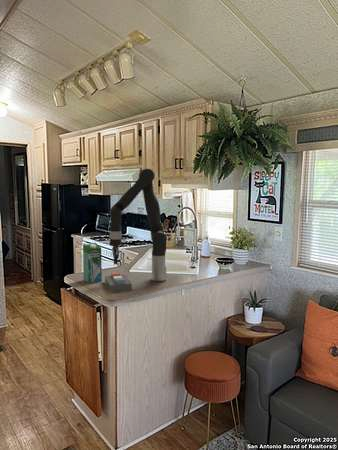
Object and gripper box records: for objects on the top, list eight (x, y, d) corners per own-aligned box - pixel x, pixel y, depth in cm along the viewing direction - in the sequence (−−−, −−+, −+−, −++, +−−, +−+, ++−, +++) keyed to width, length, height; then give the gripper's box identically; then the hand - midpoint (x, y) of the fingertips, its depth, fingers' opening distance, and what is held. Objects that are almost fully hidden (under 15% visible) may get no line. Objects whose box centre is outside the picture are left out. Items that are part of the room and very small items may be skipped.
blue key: (123, 282, 205) (123, 277, 205) (124, 284, 201) (124, 279, 200) (115, 282, 204) (115, 278, 203) (116, 285, 199) (116, 280, 199)
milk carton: (88, 283, 213) (88, 245, 210) (83, 280, 221) (82, 243, 218) (101, 281, 219) (101, 244, 216) (96, 278, 226) (95, 242, 223)
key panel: (124, 280, 222) (124, 274, 221) (131, 290, 201) (131, 283, 201) (105, 281, 217) (104, 276, 217) (110, 292, 197) (110, 285, 196)
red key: (118, 276, 219) (118, 271, 218) (120, 278, 214) (120, 273, 214) (111, 276, 217) (111, 272, 217) (112, 278, 212) (112, 274, 212)
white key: (120, 280, 212) (120, 275, 212) (122, 282, 207) (122, 277, 207) (113, 280, 211) (113, 276, 210) (114, 283, 206) (114, 278, 205)
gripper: (123, 239, 208) (123, 266, 210) (119, 236, 220) (119, 261, 222) (111, 239, 205) (111, 266, 207) (108, 236, 217) (108, 262, 220)
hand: (115, 264), depth 215 cm, fingers closed
